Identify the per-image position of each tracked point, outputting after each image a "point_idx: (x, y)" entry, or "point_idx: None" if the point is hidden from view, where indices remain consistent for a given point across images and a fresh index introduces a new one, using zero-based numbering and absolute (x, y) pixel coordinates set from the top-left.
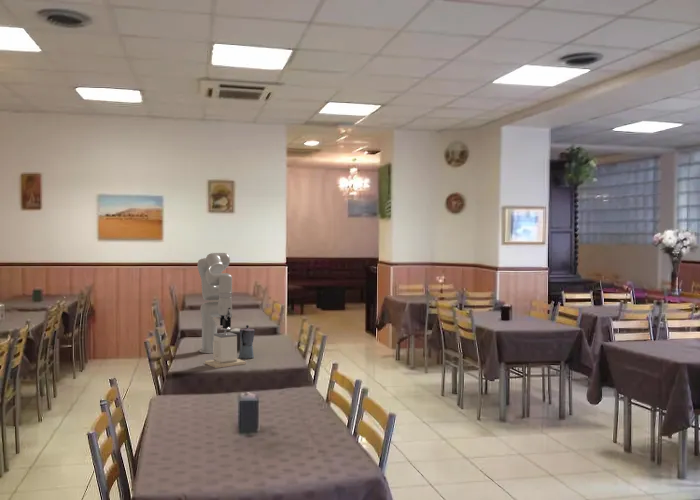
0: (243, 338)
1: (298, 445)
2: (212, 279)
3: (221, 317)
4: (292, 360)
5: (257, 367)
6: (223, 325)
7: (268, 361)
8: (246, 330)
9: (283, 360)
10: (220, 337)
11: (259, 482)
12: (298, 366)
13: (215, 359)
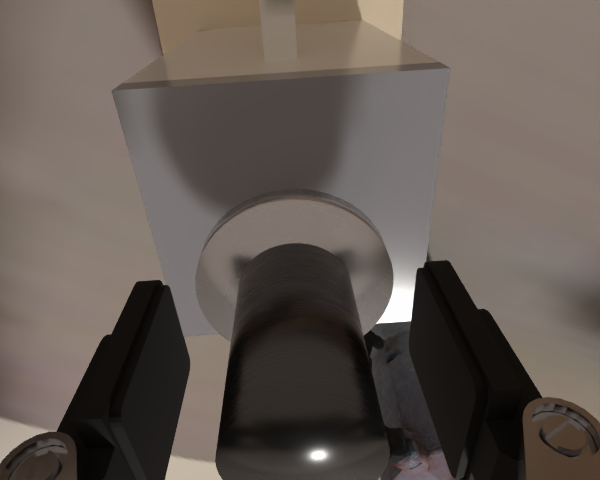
0: (410, 382)
1: None
2: None
3: (516, 461)
4: (194, 434)
5: (67, 248)
6: (268, 285)
7: (223, 351)
8: (407, 471)
9: (213, 408)
10: (150, 81)
11: None
12: (35, 412)
13: (324, 23)
